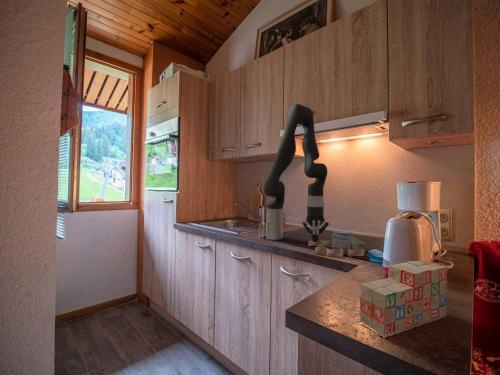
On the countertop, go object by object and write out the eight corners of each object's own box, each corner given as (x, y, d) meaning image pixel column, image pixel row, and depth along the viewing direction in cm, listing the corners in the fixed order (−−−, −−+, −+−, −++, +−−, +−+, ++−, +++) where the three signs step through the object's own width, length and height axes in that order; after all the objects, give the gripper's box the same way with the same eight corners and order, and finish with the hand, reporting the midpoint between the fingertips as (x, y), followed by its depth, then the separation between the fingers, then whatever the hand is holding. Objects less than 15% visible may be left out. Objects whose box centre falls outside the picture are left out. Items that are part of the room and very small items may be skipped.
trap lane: (318, 256, 106) (318, 245, 105) (308, 246, 122) (308, 236, 122) (368, 256, 106) (369, 245, 106) (352, 246, 123) (352, 236, 123)
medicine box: (332, 250, 116) (332, 232, 116) (334, 248, 120) (334, 230, 120) (349, 252, 112) (349, 233, 112) (351, 250, 116) (351, 232, 115)
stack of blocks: (384, 340, 49) (385, 280, 49) (359, 324, 55) (359, 270, 55) (447, 317, 58) (448, 266, 58) (419, 305, 64) (420, 258, 64)
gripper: (326, 204, 119) (326, 240, 120) (299, 204, 119) (299, 240, 119) (332, 206, 112) (331, 244, 112) (303, 206, 112) (302, 243, 112)
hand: (314, 241), depth 116 cm, fingers closed
